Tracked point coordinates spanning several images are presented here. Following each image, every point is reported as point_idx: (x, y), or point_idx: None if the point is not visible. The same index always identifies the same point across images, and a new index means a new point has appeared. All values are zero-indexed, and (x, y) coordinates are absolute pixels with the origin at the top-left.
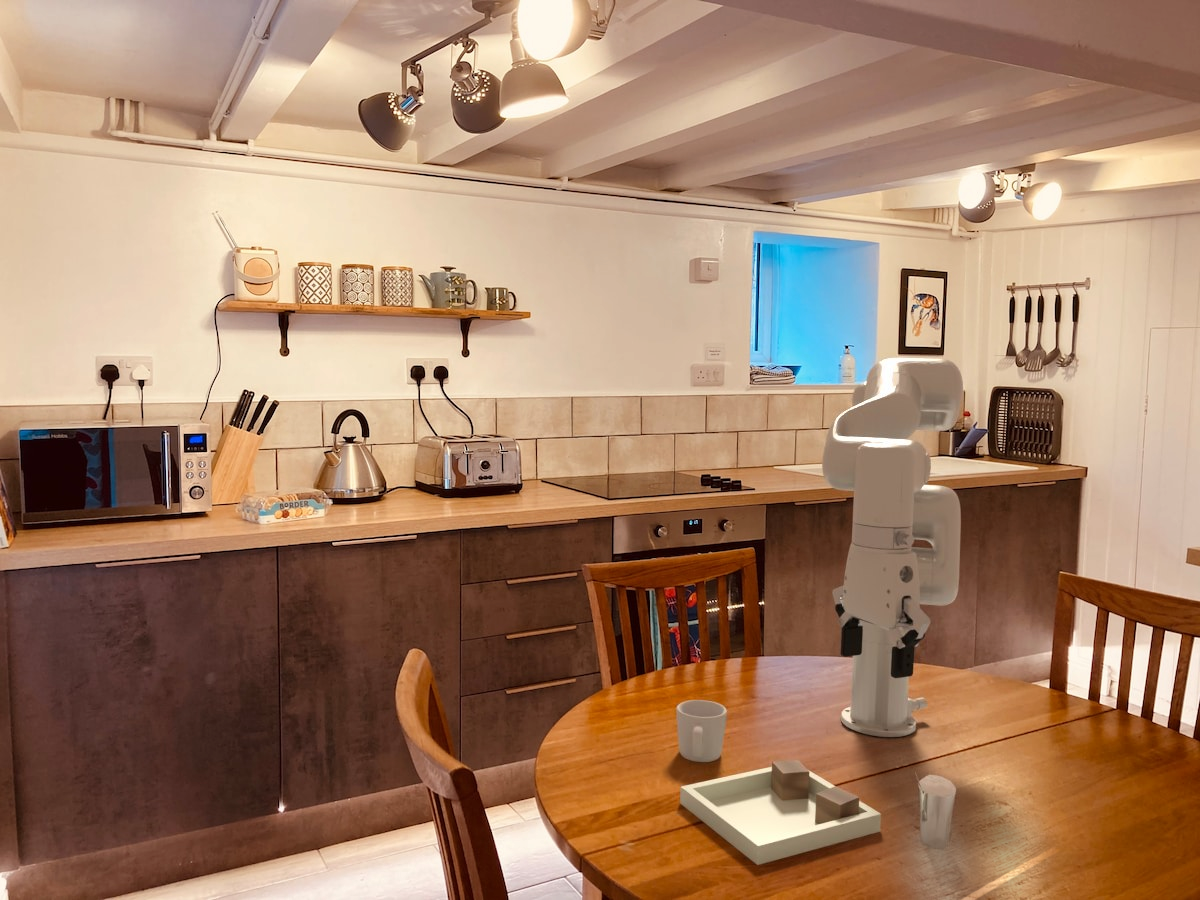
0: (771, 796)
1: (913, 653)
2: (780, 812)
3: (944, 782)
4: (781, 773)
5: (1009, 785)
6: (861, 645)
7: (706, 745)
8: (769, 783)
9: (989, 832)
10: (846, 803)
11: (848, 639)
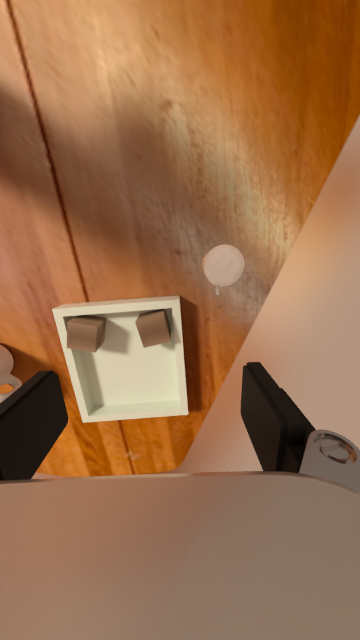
0: None
1: (288, 401)
2: (123, 353)
3: (233, 262)
4: (92, 351)
5: (130, 43)
6: (40, 389)
7: (3, 373)
8: None
9: (212, 187)
10: (168, 332)
11: (38, 454)
